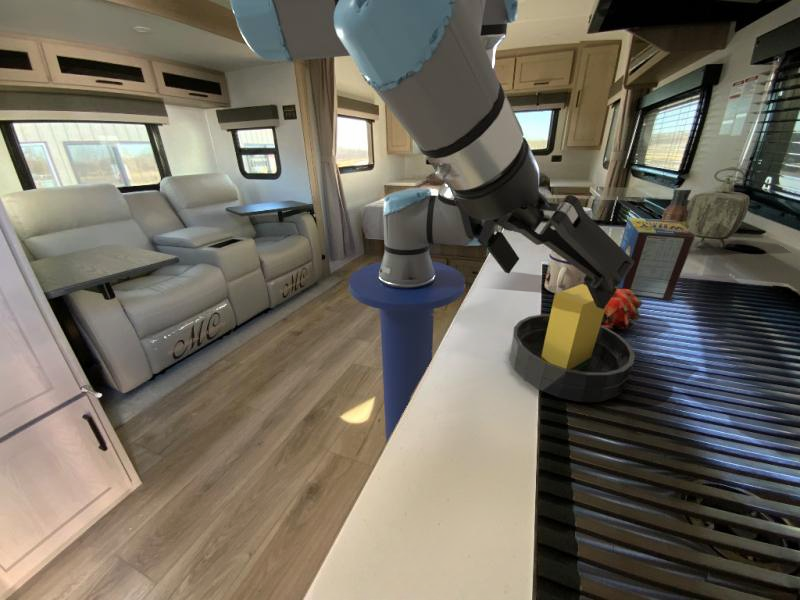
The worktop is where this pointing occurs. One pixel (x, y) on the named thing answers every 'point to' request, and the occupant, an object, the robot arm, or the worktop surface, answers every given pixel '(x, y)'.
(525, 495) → the worktop surface
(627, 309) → the dragon fruit
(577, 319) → the sponge
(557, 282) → the teacup with lid
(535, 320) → the bowl
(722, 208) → the tabletop clock
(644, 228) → the protein box
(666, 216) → the sauce bottle
